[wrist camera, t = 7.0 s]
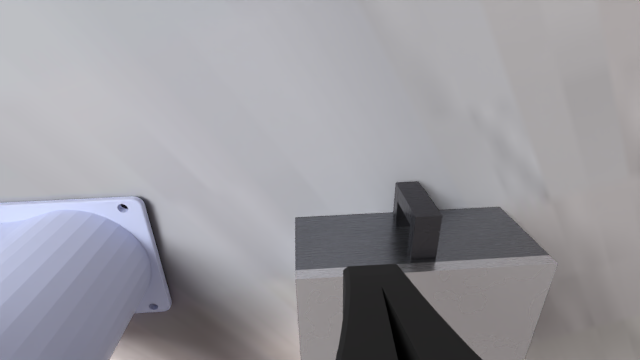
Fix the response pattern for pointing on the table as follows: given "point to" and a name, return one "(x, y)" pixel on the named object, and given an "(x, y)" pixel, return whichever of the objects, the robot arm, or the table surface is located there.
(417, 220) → the press
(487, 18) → the table surface
